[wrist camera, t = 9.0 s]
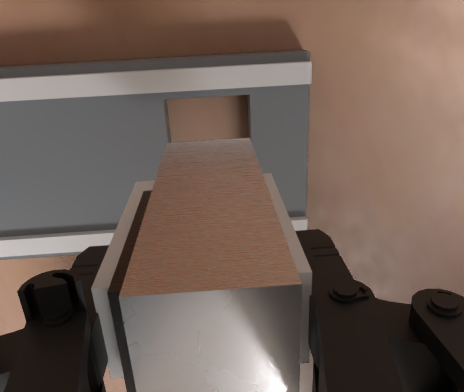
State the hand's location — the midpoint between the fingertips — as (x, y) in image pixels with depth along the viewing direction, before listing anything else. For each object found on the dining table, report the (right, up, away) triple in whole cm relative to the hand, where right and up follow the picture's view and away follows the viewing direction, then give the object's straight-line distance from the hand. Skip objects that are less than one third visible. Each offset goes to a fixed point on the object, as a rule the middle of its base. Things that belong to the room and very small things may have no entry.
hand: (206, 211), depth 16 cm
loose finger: (0, 0, 0) cm, 1 cm away
